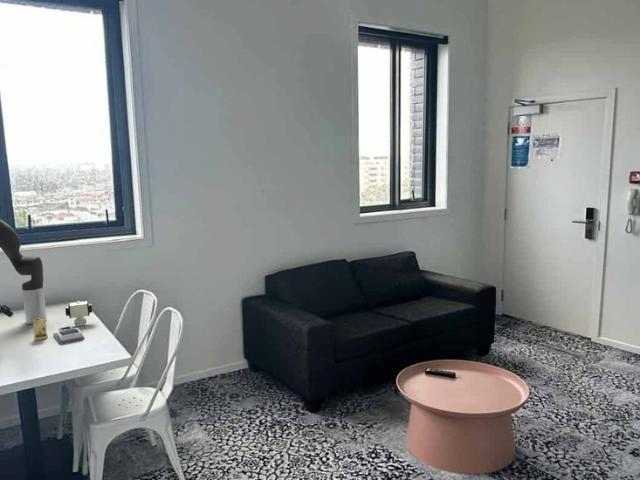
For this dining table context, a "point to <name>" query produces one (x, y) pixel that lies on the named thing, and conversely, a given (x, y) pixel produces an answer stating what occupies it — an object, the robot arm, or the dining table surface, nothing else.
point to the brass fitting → (40, 329)
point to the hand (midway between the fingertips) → (10, 313)
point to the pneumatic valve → (79, 312)
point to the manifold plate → (68, 335)
